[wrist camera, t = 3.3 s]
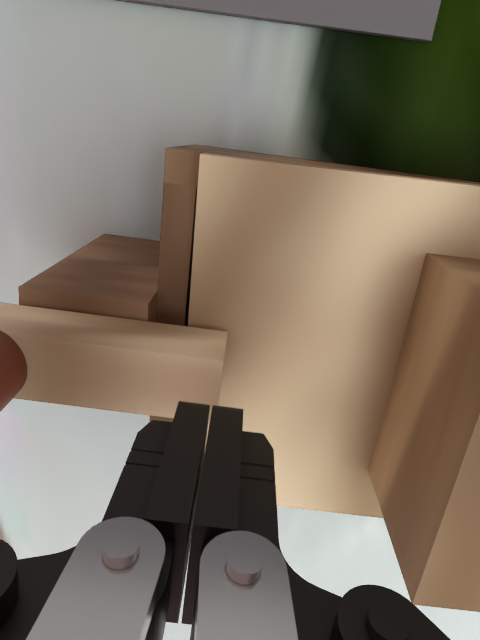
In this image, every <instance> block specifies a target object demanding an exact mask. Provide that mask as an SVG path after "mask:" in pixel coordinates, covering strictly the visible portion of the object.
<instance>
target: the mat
mask: <svg viewBox="0 0 480 640" xmlns="http://www.w3.org/2000/svg"><path fill="white" fill-rule="evenodd" d="M119 1H126V2H133V3H141V4H148V5H156V6H163V7H170V8H178V9H185V10H192V11H200V12H207V13H214V14H222V15H229V16H236V17H244V18H251V19H259V20H266V21H273V22H281V23H288V24H295V25H303V26H310V27H317V28H325V29H332V30H339V31H347V32H354V33H362V34H369V35H376V36H384V37H391V38H398V39H406V40H413V41H420V42H430V41H432V36H433V32H434V28H435V24H436V20H437V16H438V12H439V7H440V3H441V0H119Z"/></svg>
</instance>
